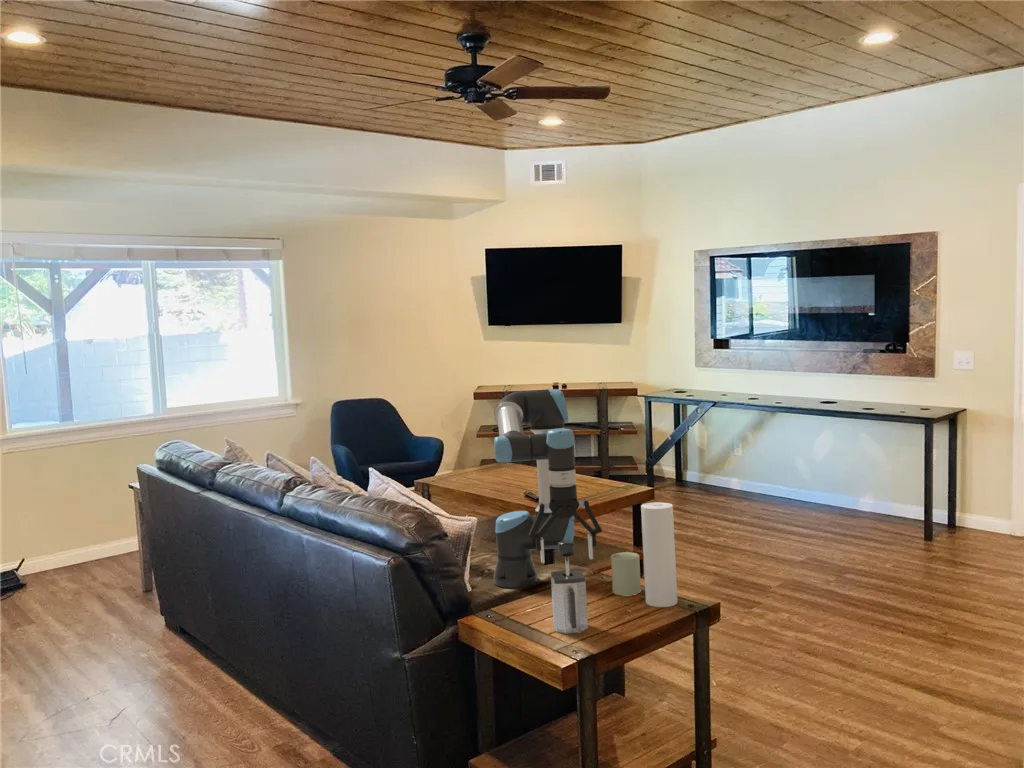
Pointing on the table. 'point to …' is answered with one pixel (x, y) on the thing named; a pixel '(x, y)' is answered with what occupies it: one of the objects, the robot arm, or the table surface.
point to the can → (626, 573)
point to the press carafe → (569, 602)
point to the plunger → (566, 552)
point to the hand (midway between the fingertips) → (566, 560)
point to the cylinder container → (659, 554)
